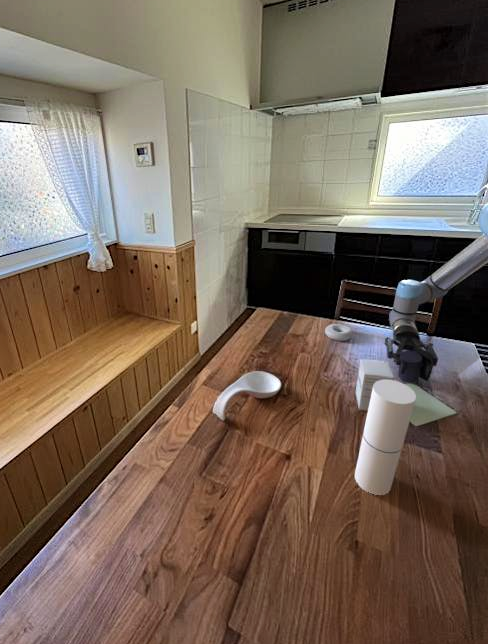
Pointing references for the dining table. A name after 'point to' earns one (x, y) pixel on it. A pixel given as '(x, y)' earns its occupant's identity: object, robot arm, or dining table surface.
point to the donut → (338, 332)
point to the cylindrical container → (384, 435)
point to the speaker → (414, 364)
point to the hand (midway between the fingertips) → (416, 372)
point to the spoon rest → (248, 389)
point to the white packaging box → (370, 379)
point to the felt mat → (427, 407)
